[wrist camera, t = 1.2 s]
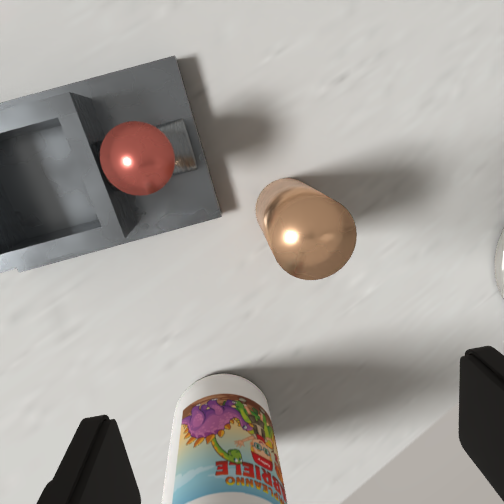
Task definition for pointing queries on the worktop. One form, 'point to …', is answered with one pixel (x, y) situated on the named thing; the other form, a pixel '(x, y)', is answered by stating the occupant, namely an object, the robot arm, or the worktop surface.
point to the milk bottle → (223, 446)
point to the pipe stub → (305, 229)
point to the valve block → (100, 166)
